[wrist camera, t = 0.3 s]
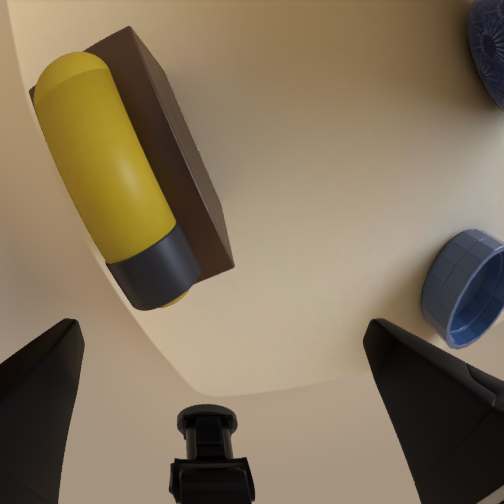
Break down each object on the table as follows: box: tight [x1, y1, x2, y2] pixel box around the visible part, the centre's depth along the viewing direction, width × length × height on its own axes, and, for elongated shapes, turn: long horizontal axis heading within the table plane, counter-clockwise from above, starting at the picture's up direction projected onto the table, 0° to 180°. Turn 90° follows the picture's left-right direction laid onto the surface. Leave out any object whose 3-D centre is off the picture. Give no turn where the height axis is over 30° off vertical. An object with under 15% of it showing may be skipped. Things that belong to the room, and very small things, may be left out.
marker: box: [34, 52, 201, 311], centre depth 8 cm, size 9×3×3 cm, turn 21°
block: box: [29, 26, 235, 284], centre depth 13 cm, size 10×4×9 cm, turn 21°
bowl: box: [421, 229, 504, 349], centre depth 24 cm, size 12×12×5 cm
